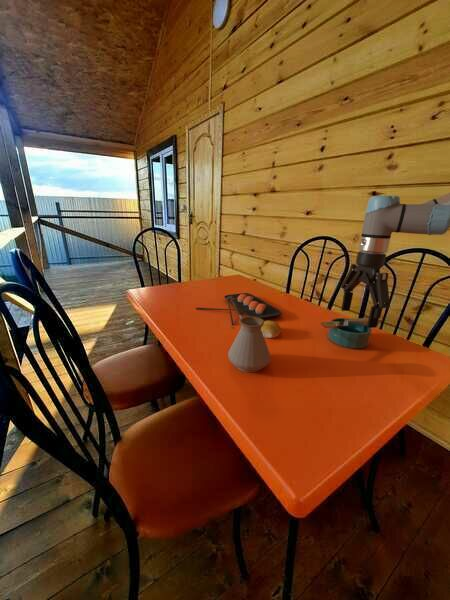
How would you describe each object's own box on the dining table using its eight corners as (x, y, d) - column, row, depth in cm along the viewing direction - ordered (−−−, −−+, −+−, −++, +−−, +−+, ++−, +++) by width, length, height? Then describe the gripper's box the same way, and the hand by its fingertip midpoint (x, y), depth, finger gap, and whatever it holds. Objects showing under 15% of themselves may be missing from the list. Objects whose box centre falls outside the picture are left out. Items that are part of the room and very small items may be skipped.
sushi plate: (284, 318, 101) (285, 309, 100) (215, 329, 89) (215, 319, 87) (248, 296, 126) (249, 288, 124) (190, 303, 113) (190, 294, 112)
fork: (372, 322, 85) (374, 317, 85) (379, 326, 82) (381, 321, 82) (320, 324, 83) (321, 318, 82) (325, 328, 80) (326, 322, 79)
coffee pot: (277, 372, 66) (283, 319, 61) (237, 380, 63) (240, 325, 58) (244, 335, 85) (247, 293, 80) (211, 340, 81) (212, 296, 77)
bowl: (352, 331, 91) (355, 317, 89) (376, 349, 80) (380, 333, 78) (320, 332, 89) (323, 318, 88) (340, 350, 78) (343, 334, 76)
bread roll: (282, 330, 90) (283, 319, 89) (277, 341, 83) (278, 329, 81) (259, 325, 93) (260, 315, 92) (252, 335, 86) (253, 324, 84)
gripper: (337, 246, 86) (327, 304, 93) (392, 259, 63) (372, 336, 70) (357, 246, 87) (345, 304, 94) (418, 260, 64) (397, 335, 71)
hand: (357, 318), depth 82 cm, fingers open, 13 cm apart
